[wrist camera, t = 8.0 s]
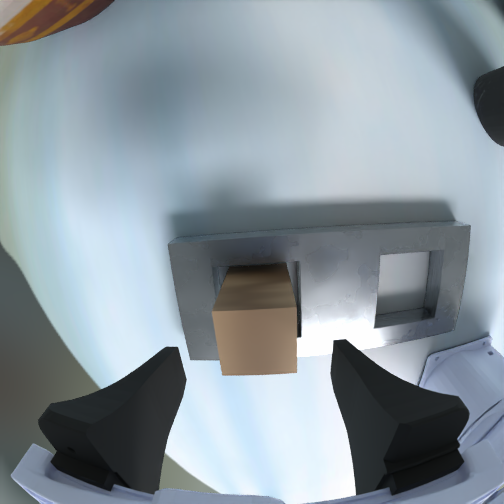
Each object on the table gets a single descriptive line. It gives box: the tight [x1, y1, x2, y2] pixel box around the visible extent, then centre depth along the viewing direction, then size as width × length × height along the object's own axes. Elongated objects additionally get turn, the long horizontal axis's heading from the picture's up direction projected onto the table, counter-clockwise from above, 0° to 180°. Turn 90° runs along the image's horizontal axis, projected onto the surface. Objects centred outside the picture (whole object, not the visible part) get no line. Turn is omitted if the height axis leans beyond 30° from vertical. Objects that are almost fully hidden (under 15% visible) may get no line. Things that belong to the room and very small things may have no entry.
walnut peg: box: [212, 263, 297, 375], centre depth 17 cm, size 4×4×7 cm
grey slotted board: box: [168, 221, 471, 360], centre depth 19 cm, size 22×9×2 cm, turn 95°
